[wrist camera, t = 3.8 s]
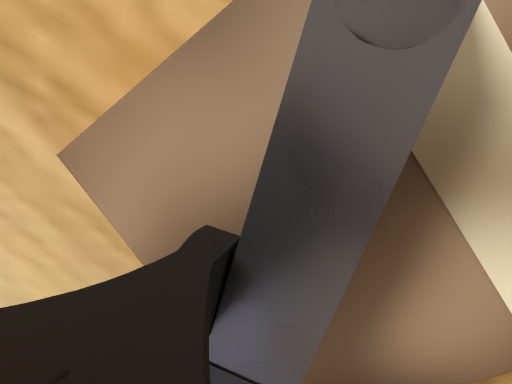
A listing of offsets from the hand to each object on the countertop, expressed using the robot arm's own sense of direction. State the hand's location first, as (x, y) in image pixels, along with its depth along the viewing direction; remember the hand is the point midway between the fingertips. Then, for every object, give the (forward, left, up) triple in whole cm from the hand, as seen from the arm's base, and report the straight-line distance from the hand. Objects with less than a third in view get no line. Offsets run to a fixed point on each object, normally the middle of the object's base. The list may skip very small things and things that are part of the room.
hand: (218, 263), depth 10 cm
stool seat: (-1, -2, -4) cm, 5 cm away
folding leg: (0, -3, -1) cm, 3 cm away
